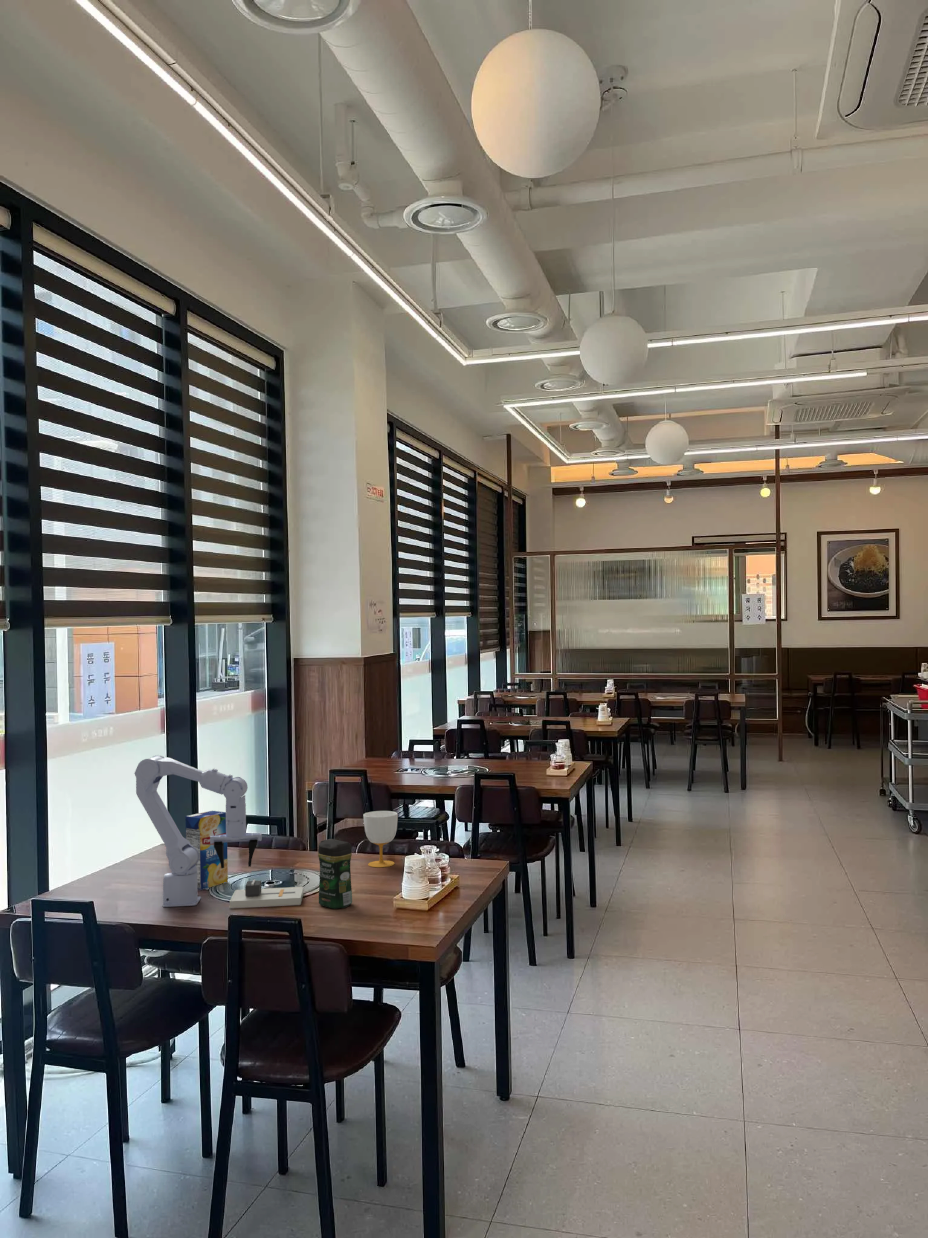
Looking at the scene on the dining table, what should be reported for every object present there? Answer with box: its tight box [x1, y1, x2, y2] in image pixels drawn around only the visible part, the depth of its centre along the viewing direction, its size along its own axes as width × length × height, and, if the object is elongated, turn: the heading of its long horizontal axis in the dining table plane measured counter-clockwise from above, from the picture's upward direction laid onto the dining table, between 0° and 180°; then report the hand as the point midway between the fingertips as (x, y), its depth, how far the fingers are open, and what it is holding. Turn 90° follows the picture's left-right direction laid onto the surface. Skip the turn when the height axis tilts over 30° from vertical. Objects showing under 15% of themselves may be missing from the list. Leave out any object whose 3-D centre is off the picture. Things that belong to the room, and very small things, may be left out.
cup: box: [362, 810, 399, 869], centre depth 305 cm, size 12×12×17 cm
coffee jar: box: [317, 838, 353, 910], centre depth 258 cm, size 10×8×19 cm
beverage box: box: [184, 810, 229, 891], centre depth 283 cm, size 7×11×22 cm, turn 147°
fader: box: [244, 879, 262, 896], centre depth 263 cm, size 4×5×3 cm
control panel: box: [229, 886, 304, 909], centre depth 263 cm, size 20×12×2 cm, turn 96°
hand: (236, 866), depth 262 cm, fingers open, 7 cm apart
